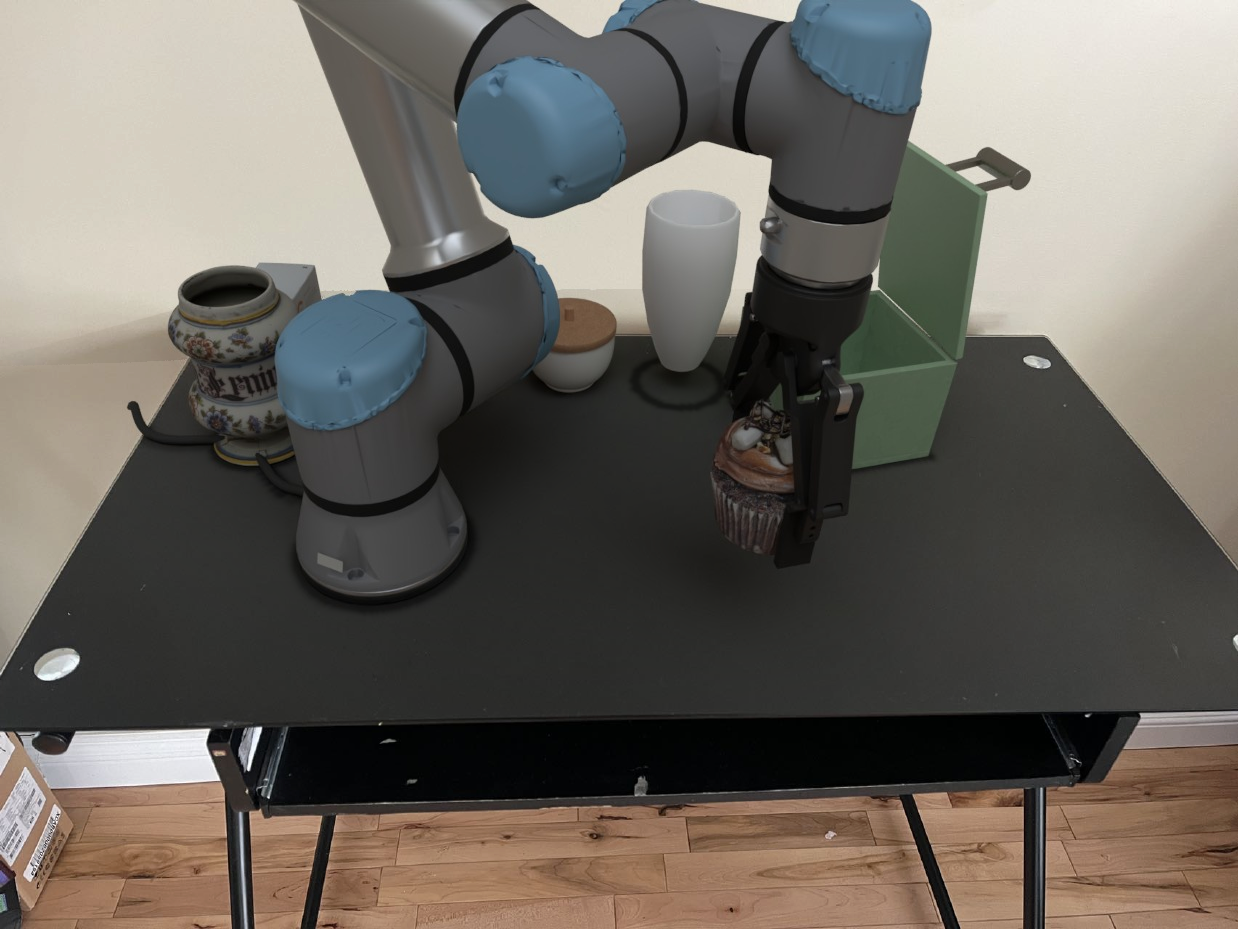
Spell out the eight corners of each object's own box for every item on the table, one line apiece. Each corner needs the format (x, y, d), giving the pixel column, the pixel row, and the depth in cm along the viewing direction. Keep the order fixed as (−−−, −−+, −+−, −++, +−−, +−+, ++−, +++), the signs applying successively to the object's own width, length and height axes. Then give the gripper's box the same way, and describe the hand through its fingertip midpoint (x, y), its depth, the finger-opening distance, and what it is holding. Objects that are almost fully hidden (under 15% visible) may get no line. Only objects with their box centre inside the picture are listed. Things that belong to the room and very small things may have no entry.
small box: (282, 361, 107) (258, 260, 99) (336, 364, 107) (316, 263, 99) (258, 401, 101) (231, 296, 93) (315, 403, 101) (293, 299, 93)
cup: (615, 378, 107) (622, 203, 93) (677, 349, 112) (692, 179, 99) (678, 418, 101) (695, 238, 87) (740, 385, 107) (765, 211, 93)
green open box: (787, 480, 93) (805, 385, 86) (730, 396, 105) (742, 306, 97) (928, 456, 97) (958, 363, 90) (858, 377, 109) (879, 289, 101)
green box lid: (980, 195, 78) (1070, 171, 79) (888, 133, 90) (968, 113, 91) (955, 360, 89) (1034, 337, 91) (877, 286, 101) (948, 267, 102)
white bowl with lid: (504, 382, 105) (500, 311, 100) (560, 344, 112) (560, 275, 106) (578, 415, 101) (578, 343, 95) (632, 373, 108) (636, 303, 102)
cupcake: (695, 550, 70) (709, 448, 63) (714, 472, 77) (728, 374, 71) (820, 575, 68) (847, 473, 62) (827, 493, 76) (852, 394, 69)
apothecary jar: (291, 481, 90) (252, 324, 79) (180, 464, 92) (125, 307, 81) (342, 412, 100) (313, 262, 88) (240, 398, 101) (198, 249, 90)
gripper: (700, 196, 66) (674, 440, 80) (844, 362, 49) (778, 631, 63) (795, 189, 67) (752, 428, 82) (963, 346, 51) (874, 611, 65)
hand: (764, 517), depth 73 cm, fingers closed on cupcake, 10 cm apart
